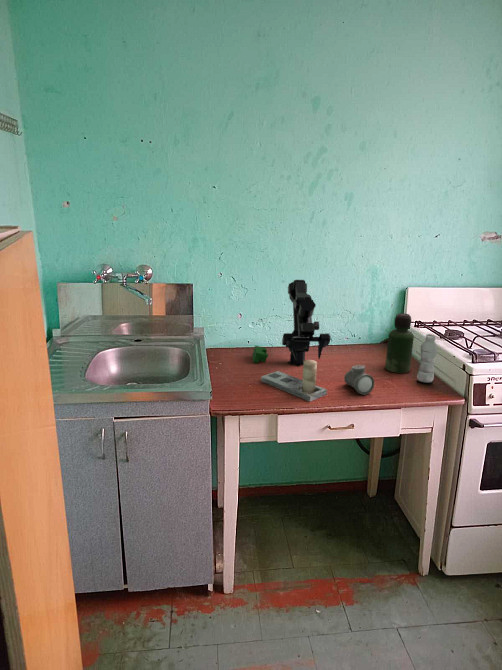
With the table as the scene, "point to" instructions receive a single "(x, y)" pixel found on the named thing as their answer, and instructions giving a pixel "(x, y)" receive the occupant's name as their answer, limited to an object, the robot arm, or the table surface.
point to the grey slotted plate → (292, 385)
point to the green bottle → (400, 345)
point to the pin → (309, 376)
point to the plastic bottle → (427, 359)
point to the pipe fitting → (359, 379)
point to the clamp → (259, 354)
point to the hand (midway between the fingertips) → (307, 358)
